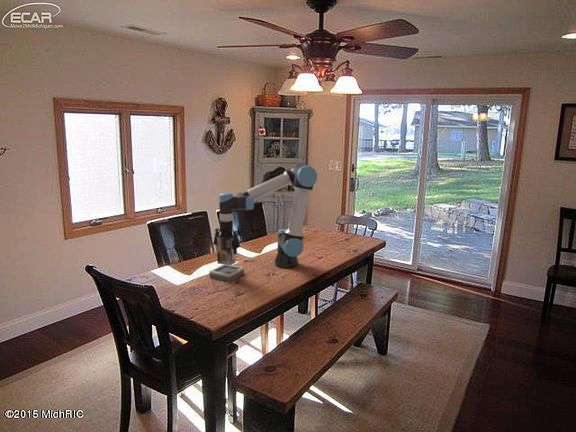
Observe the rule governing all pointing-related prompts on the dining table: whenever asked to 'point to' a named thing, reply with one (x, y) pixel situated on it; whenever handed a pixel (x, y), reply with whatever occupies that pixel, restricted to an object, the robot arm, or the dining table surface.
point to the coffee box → (225, 250)
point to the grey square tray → (226, 272)
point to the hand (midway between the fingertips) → (226, 257)
